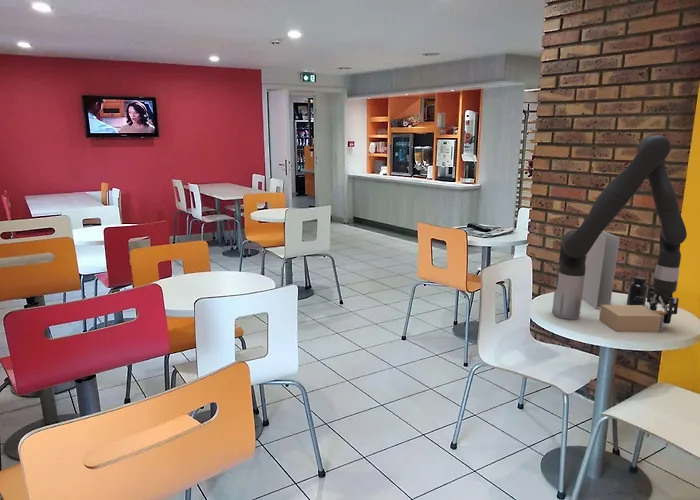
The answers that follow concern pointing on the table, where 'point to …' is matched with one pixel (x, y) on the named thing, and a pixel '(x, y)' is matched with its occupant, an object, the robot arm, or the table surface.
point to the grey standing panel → (600, 270)
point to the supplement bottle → (637, 291)
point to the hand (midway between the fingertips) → (659, 319)
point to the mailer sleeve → (630, 318)
